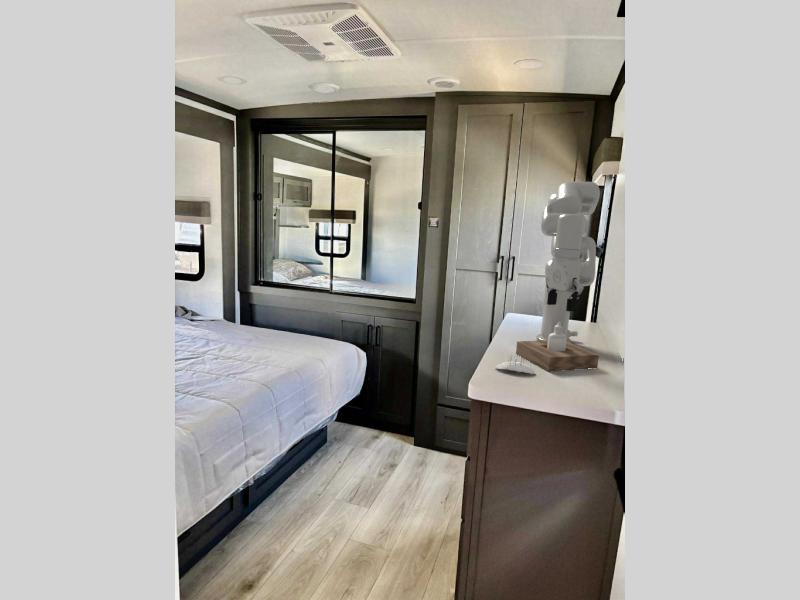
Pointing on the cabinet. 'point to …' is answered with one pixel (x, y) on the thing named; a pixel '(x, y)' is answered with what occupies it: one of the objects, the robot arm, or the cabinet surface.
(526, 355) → the walnut socket block
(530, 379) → the cabinet surface
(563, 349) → the eye dropper bottle
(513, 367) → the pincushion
